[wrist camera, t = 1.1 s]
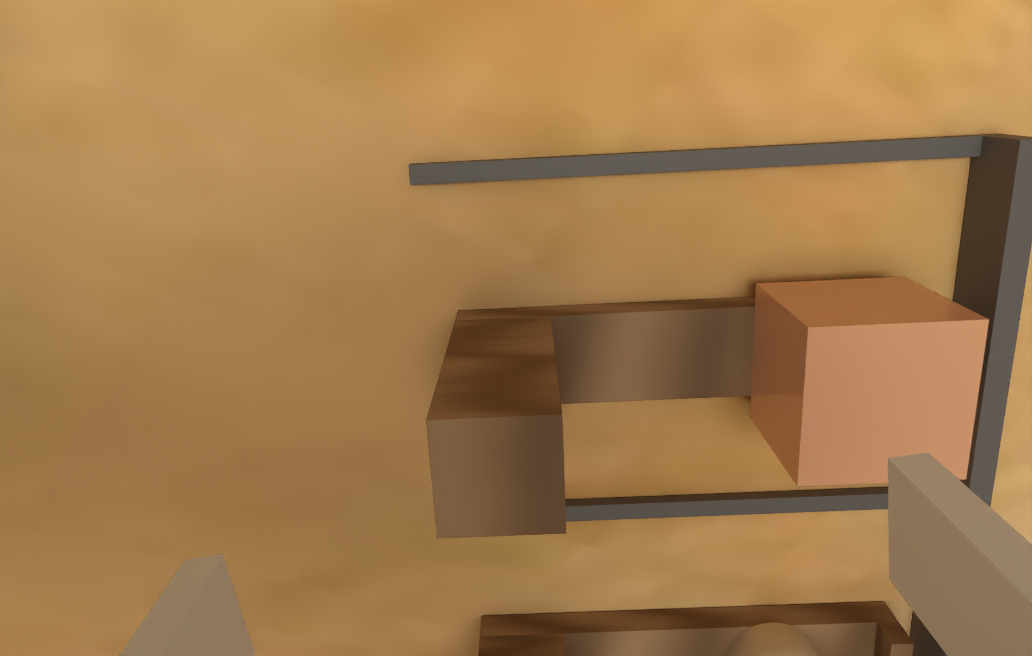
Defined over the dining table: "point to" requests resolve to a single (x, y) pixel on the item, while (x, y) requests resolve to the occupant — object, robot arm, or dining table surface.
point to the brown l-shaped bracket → (693, 631)
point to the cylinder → (771, 642)
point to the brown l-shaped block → (562, 396)
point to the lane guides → (979, 287)
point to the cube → (863, 377)
